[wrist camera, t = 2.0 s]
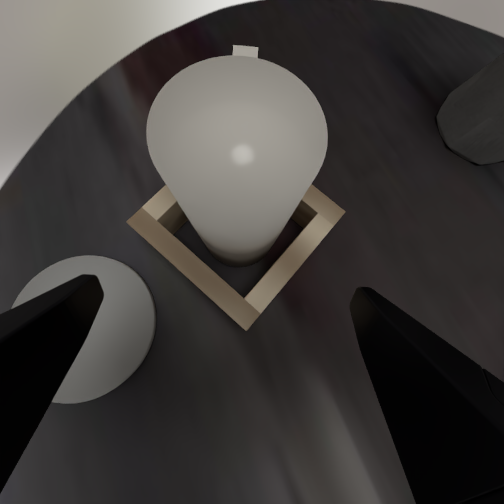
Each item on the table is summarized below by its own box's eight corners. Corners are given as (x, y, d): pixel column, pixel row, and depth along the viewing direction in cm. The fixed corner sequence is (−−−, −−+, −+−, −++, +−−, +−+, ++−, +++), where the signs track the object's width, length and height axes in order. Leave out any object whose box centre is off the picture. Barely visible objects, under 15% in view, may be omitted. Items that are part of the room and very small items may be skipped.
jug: (273, 268, 20) (330, 219, 8) (200, 265, 20) (133, 208, 7) (275, 172, 22) (324, 4, 10) (209, 167, 22) (167, -12, 9)
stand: (244, 324, 19) (246, 331, 15) (148, 236, 20) (126, 221, 16) (326, 227, 21) (345, 211, 17) (234, 152, 22) (233, 121, 19)
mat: (79, 432, 17) (72, 438, 16) (-16, 331, 18) (-28, 332, 17) (184, 316, 19) (182, 317, 18) (93, 231, 20) (87, 228, 19)
